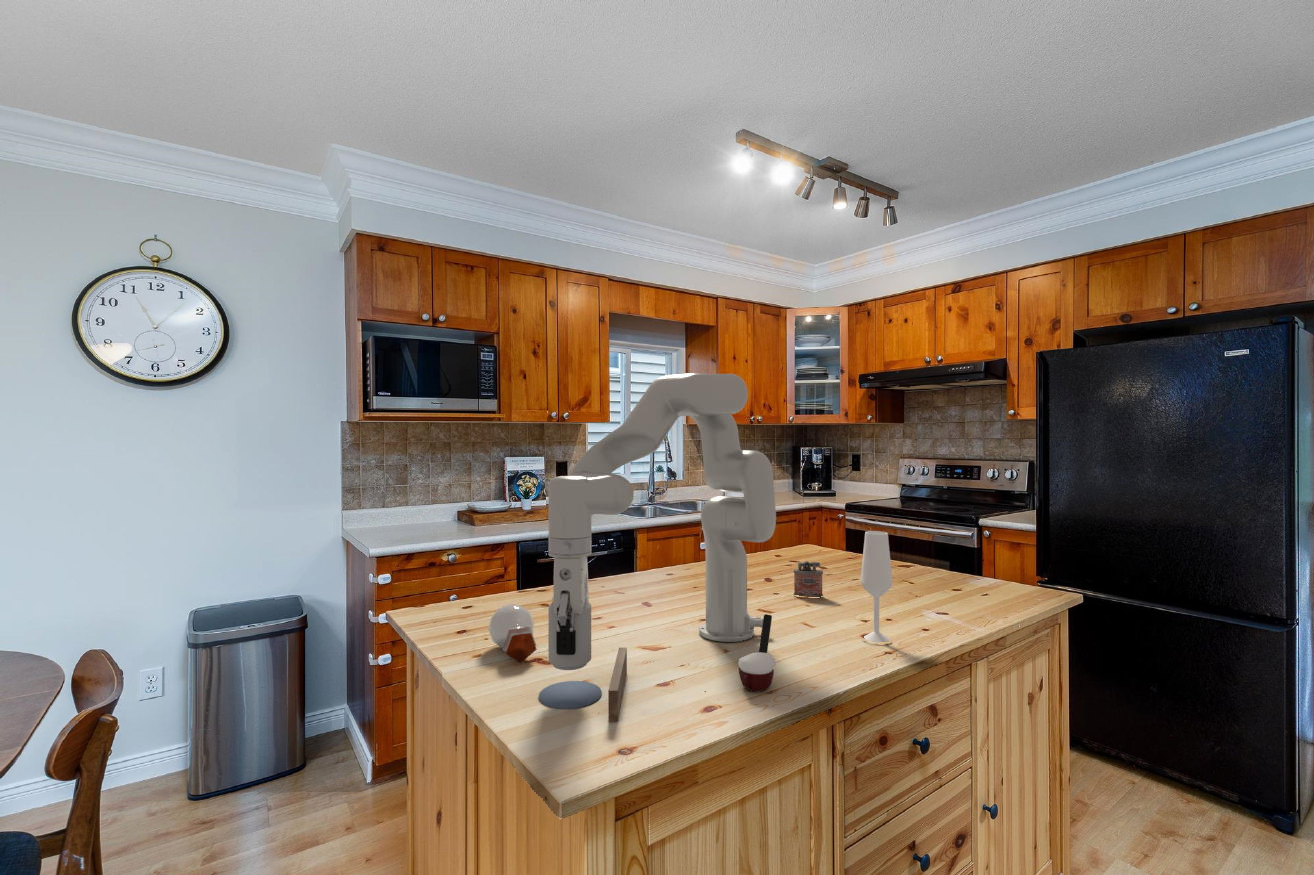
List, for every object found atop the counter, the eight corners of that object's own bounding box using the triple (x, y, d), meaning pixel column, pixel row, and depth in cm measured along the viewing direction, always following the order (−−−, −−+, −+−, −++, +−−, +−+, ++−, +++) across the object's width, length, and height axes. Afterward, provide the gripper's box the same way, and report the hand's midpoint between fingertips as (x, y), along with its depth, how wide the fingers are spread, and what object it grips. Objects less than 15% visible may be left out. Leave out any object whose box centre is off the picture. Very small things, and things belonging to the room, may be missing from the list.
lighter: (794, 597, 174) (794, 562, 174) (793, 594, 177) (793, 559, 177) (823, 599, 173) (823, 563, 173) (822, 595, 176) (822, 560, 176)
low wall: (626, 673, 119) (626, 647, 119) (617, 721, 99) (617, 690, 99) (619, 673, 119) (618, 647, 119) (608, 721, 99) (608, 690, 99)
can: (583, 673, 105) (583, 602, 105) (541, 670, 106) (541, 600, 106) (596, 658, 112) (596, 592, 112) (557, 655, 114) (557, 590, 114)
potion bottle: (512, 645, 140) (527, 676, 126) (476, 625, 136) (487, 655, 122) (536, 610, 141) (554, 637, 128) (502, 589, 137) (516, 615, 124)
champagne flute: (885, 647, 133) (885, 536, 133) (855, 640, 138) (855, 533, 138) (897, 640, 138) (897, 532, 138) (868, 633, 143) (868, 529, 143)
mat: (604, 682, 115) (604, 681, 115) (597, 709, 104) (597, 707, 104) (545, 682, 115) (545, 680, 115) (532, 708, 104) (532, 706, 104)
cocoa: (749, 701, 108) (748, 633, 107) (727, 687, 113) (726, 622, 112) (789, 686, 113) (789, 622, 112) (766, 674, 118) (765, 612, 117)
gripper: (584, 555, 101) (584, 664, 101) (597, 538, 118) (597, 630, 118) (538, 555, 101) (538, 664, 101) (557, 538, 118) (557, 630, 118)
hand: (570, 645), depth 109 cm, fingers closed on can, 7 cm apart
